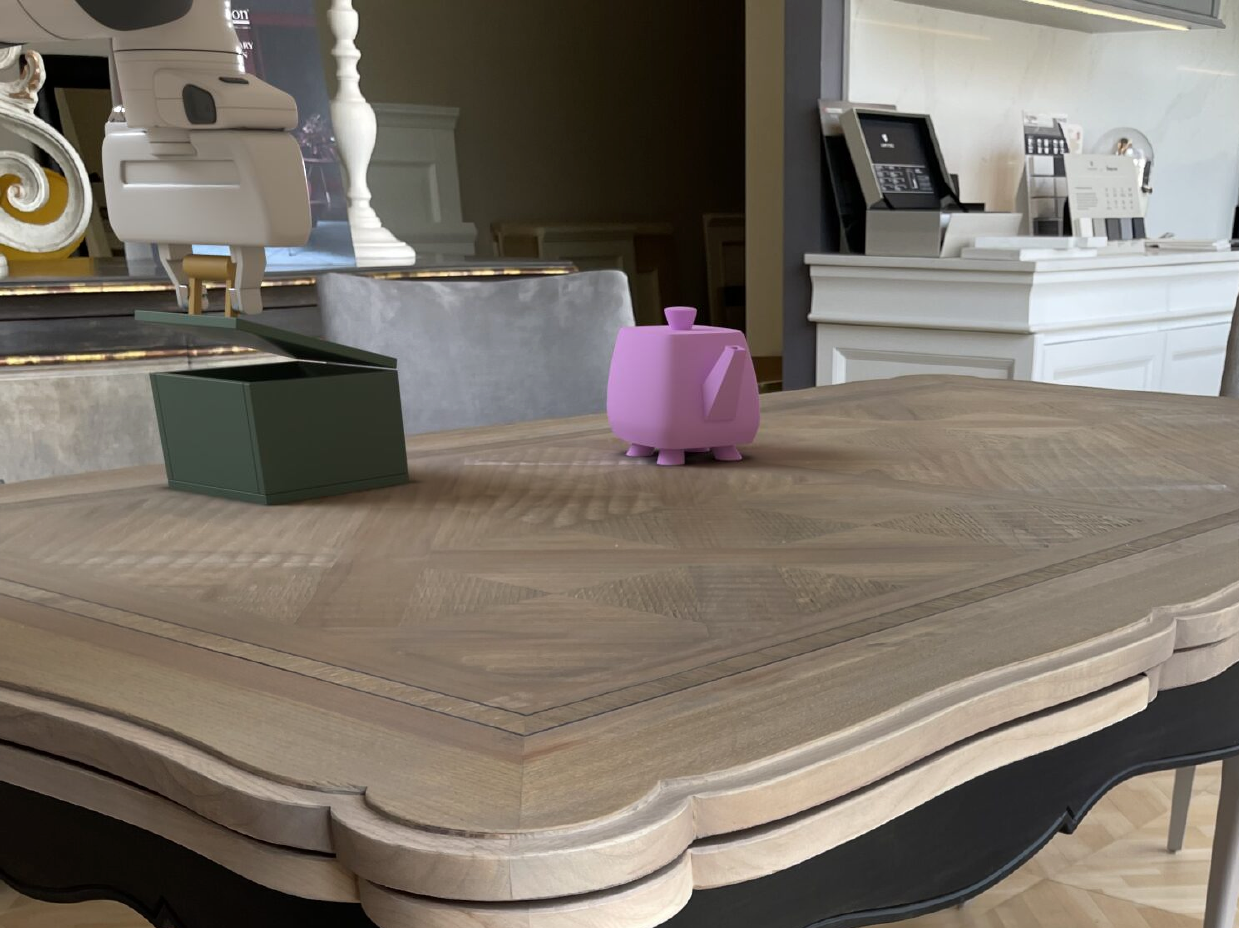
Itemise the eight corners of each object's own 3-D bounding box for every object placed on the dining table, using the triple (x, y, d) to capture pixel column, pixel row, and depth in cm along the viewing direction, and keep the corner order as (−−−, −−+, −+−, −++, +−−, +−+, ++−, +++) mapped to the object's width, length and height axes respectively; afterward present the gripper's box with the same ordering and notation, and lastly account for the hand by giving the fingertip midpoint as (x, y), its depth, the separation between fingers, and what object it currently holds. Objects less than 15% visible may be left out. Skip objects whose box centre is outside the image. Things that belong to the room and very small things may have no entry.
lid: (236, 329, 115) (239, 248, 114) (134, 320, 122) (135, 244, 120) (397, 369, 128) (401, 297, 126) (297, 359, 134) (300, 291, 132)
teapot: (578, 448, 151) (570, 302, 145) (691, 440, 157) (688, 299, 151) (678, 477, 136) (674, 316, 130) (798, 467, 142) (800, 312, 136)
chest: (267, 506, 122) (249, 383, 117) (169, 489, 128) (148, 372, 124) (410, 483, 132) (398, 369, 128) (312, 468, 138) (298, 360, 134)
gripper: (65, 103, 117) (105, 308, 124) (237, 96, 106) (271, 321, 113) (139, 106, 121) (174, 304, 128) (312, 100, 111) (340, 315, 118)
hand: (221, 312), depth 121 cm, fingers closed on lid, 5 cm apart
